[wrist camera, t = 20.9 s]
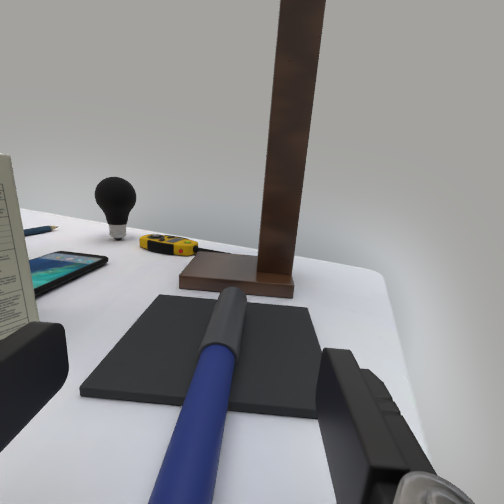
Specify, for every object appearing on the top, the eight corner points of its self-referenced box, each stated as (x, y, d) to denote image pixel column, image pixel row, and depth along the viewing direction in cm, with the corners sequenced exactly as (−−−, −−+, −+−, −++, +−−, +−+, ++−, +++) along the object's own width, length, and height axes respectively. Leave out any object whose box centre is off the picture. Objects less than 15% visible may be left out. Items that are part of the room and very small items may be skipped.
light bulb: (116, 234, 50) (112, 175, 47) (144, 238, 48) (143, 178, 45) (89, 240, 44) (84, 175, 41) (120, 246, 43) (117, 178, 40)
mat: (79, 396, 15) (78, 387, 15) (159, 299, 27) (159, 294, 26) (340, 421, 15) (342, 412, 15) (306, 313, 26) (307, 307, 26)
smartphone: (111, 256, 35) (-12, 310, 21) (111, 262, 35) (-11, 320, 21) (58, 250, 36) (-96, 298, 21) (59, 255, 36) (-93, 307, 22)
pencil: (-52, 248, 36) (56, 228, 50) (-46, 249, 35) (60, 229, 49) (-53, 241, 35) (55, 223, 49) (-47, 242, 35) (60, 224, 49)
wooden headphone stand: (176, 292, 29) (178, -124, 20) (198, 261, 39) (207, -24, 30) (293, 302, 28) (347, -113, 20) (285, 268, 38) (319, -16, 30)
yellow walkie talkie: (153, 230, 46) (239, 244, 42) (154, 242, 47) (238, 256, 42) (132, 236, 42) (225, 251, 37) (133, 248, 42) (225, 265, 38)
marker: (210, 562, 9) (216, 508, 8) (133, 551, 9) (134, 496, 8) (245, 314, 24) (248, 288, 23) (217, 310, 24) (219, 284, 23)
